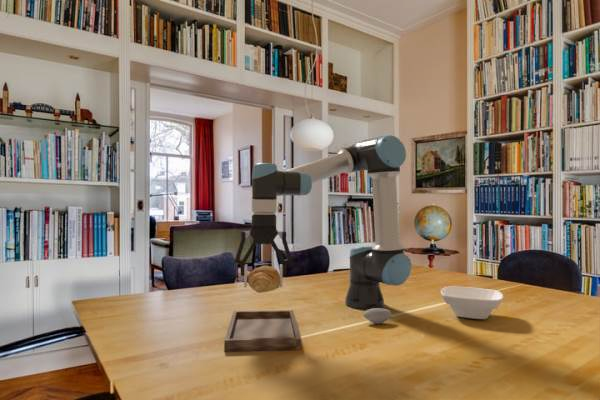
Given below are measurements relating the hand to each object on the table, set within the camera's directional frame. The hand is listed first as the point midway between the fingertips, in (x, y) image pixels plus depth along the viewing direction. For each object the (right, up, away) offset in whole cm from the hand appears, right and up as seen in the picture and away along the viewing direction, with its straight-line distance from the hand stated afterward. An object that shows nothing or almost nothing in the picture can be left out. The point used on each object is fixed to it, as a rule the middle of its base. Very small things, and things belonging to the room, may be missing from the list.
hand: (263, 286), depth 121 cm
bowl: (+72, -15, +20) cm, 77 cm away
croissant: (0, -1, 0) cm, 1 cm away
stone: (+37, -15, +11) cm, 42 cm away
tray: (0, -14, 0) cm, 14 cm away
